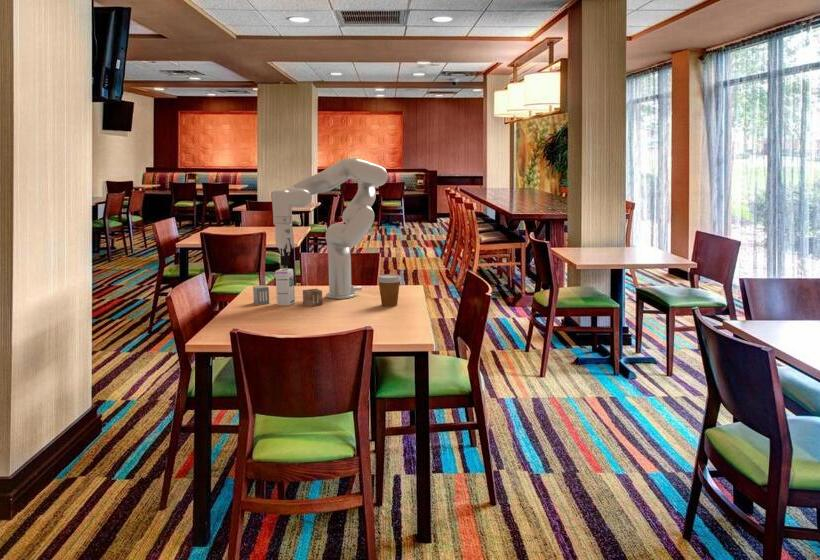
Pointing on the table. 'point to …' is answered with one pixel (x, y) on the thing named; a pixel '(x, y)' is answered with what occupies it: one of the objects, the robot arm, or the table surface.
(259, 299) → the slate block
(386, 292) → the disposable coffee cup
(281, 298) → the syrup box
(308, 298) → the walnut cube
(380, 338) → the table surface
